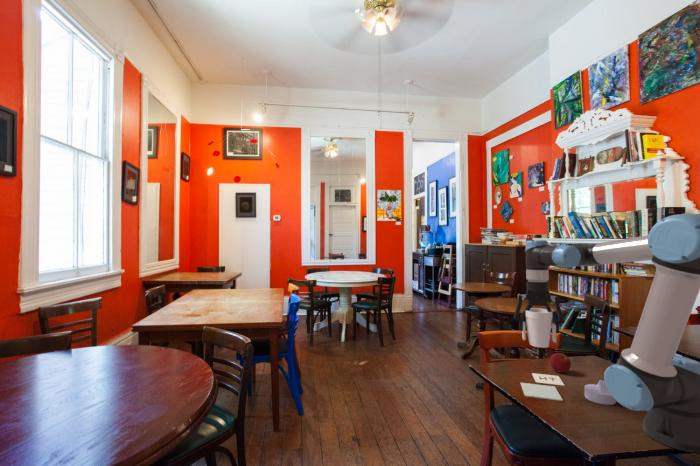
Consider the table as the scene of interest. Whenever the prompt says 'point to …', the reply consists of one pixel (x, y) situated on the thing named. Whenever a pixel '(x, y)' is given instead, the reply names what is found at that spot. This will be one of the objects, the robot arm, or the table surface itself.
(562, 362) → the apple
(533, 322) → the foam cup
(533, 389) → the sage mat
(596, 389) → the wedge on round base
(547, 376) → the cream card
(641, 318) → the robot arm
